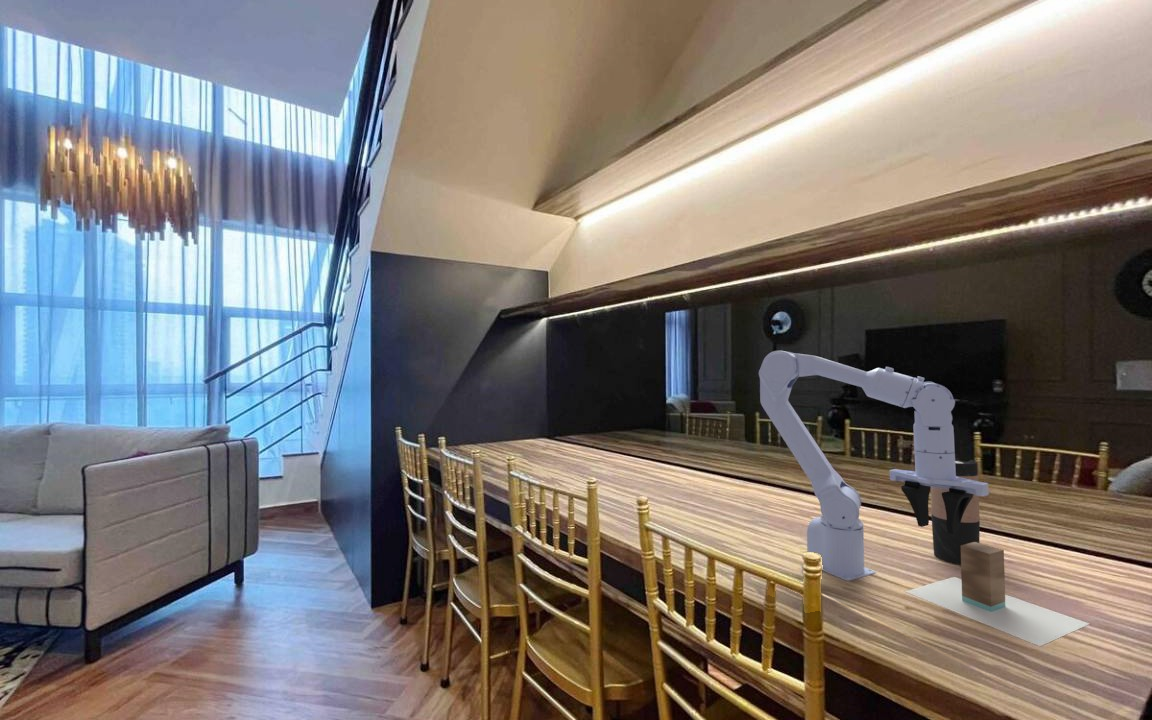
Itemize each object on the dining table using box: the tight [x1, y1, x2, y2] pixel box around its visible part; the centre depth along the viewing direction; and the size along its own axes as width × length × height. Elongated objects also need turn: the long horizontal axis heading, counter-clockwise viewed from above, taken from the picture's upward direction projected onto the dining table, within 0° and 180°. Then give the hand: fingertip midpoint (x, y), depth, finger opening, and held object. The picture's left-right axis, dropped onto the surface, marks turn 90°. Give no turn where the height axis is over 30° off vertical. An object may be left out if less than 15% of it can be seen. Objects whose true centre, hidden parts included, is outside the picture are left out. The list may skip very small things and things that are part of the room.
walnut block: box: [960, 542, 1006, 612], centre depth 78 cm, size 4×4×9 cm
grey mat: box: [904, 576, 1090, 647], centre depth 77 cm, size 18×14×1 cm
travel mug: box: [930, 457, 981, 566], centre depth 97 cm, size 8×8×20 cm
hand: (937, 529), depth 84 cm, fingers open, 4 cm apart
